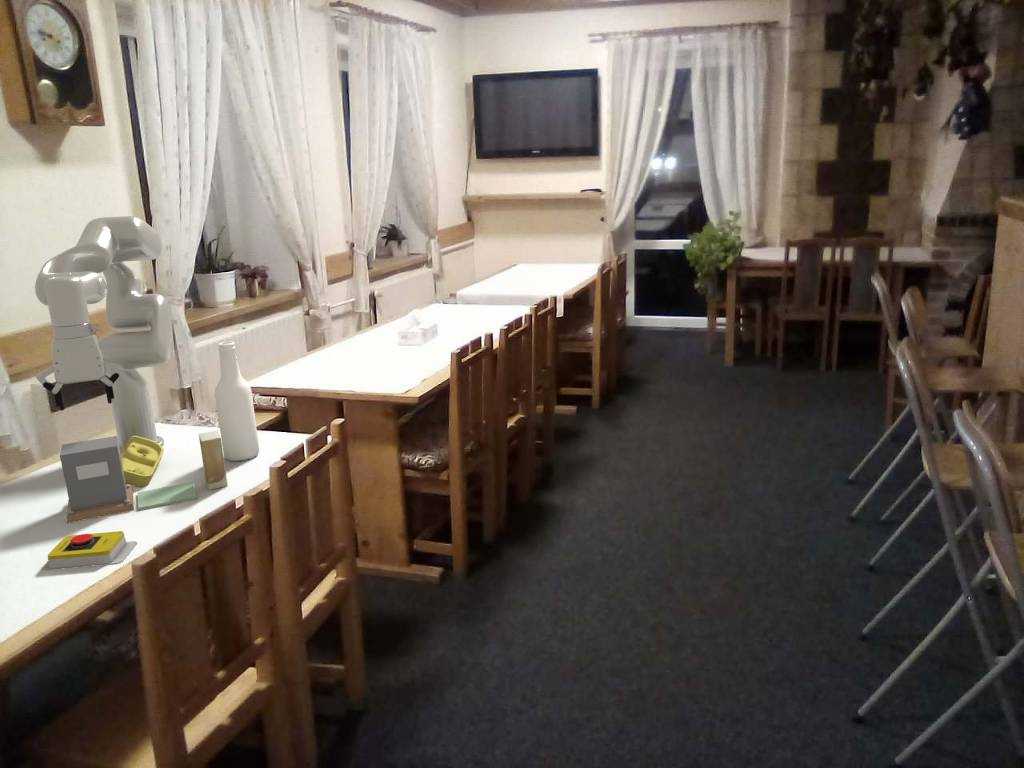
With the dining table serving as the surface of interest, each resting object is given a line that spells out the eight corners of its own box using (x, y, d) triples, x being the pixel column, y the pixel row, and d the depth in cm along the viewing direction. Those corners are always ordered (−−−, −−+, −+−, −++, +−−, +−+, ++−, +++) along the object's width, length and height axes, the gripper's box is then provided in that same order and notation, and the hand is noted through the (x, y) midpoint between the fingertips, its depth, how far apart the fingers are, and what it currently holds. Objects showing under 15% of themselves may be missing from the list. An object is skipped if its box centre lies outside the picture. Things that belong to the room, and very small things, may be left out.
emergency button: (56, 530, 157) (135, 523, 159) (61, 550, 158) (139, 543, 160) (35, 551, 148) (119, 544, 150) (39, 573, 149) (123, 565, 151)
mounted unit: (70, 503, 180) (57, 442, 176) (132, 491, 186) (122, 432, 182) (67, 523, 170) (53, 459, 166) (133, 509, 175) (122, 447, 171)
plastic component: (150, 478, 187) (105, 465, 184) (141, 505, 189) (96, 492, 186) (167, 445, 205) (127, 433, 202) (159, 469, 207) (119, 458, 204)
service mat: (137, 494, 183) (137, 492, 183) (193, 484, 188) (192, 481, 188) (138, 510, 175) (138, 507, 174) (196, 498, 179) (196, 496, 179)
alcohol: (265, 450, 209) (250, 338, 201) (250, 462, 201) (234, 346, 193) (234, 450, 211) (218, 339, 203) (218, 462, 202) (200, 347, 194)
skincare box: (205, 481, 189) (197, 433, 186) (224, 477, 191) (217, 429, 188) (208, 490, 184) (201, 440, 181) (228, 486, 186) (221, 437, 183)
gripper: (115, 325, 184) (128, 396, 189) (29, 334, 177) (44, 408, 181) (115, 329, 178) (128, 403, 182) (26, 339, 171) (42, 416, 175)
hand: (86, 405), depth 182 cm, fingers open, 9 cm apart
